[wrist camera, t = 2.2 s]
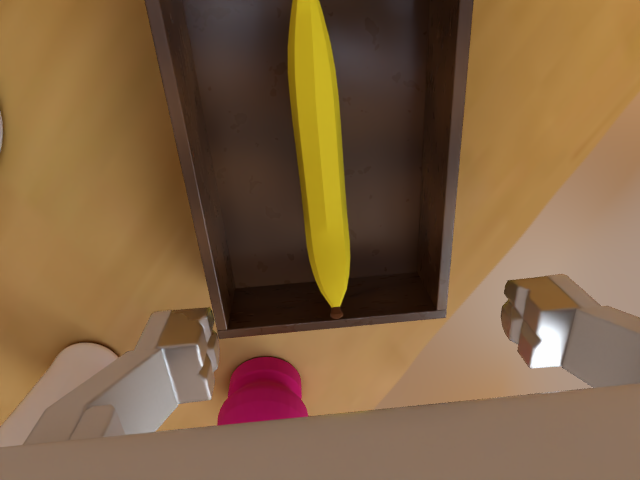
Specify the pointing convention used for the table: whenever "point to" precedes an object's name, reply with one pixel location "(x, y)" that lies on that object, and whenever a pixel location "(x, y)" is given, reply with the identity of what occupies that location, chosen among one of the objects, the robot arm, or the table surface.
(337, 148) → the banana
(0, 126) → the utensil holder
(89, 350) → the drinking glass
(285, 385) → the pepper mill
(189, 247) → the table surface
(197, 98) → the tray
